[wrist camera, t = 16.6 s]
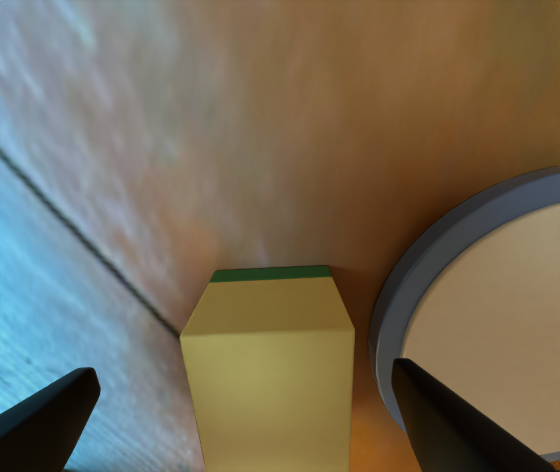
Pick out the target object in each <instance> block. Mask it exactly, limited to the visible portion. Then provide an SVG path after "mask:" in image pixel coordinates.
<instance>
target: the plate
mask: <svg viewBox="0 0 560 472" xmlns="http://www.w3.org/2000/svg"><path fill="white" fill-rule="evenodd" d="M368 358H369V363H370V369H371V373H372V376H373V379H374V381H375V384H376V387H377V389H378V392H379V394H380V397H381V399H382V401H383V404H384V405H385V407H386V409H387V410H388V412H389V414H390V416H391V417H392V418H393V420H394V421H395V422H396V423H397V424H398V426H399V427H400V428H401V429H402V430H403V431H404V432H405V433H406V434H407V432H406V429H405V426H404V422H403V419H402V416H401V413H400V410H399V407H398V404H397V401H396V398H395V395H394V392H393V389H392V385H391V376H392V368H393V361H394V359H396V358H409V359H411V360H412V361H413V362H415V363H416V364H417V365H419V366H420V367H421V368H423V369H424V370H426V371H427V372H428V373H430V374H431V375H432V376H434V377H435V378H436V379H438V380H439V381H440V382H442V383H443V384H444V385H446V386H447V387H448V388H450V389H451V390H452V391H454V392H455V393H456V394H458V395H459V396H460V397H462V398H463V399H464V400H466V401H467V402H468V403H470V404H471V405H472V406H474V407H475V408H476V409H478V410H479V411H480V412H482V413H483V414H484V415H486V416H487V417H488V418H490V419H491V420H493V421H494V422H495V423H497V424H498V425H499V426H501V427H502V428H503V429H505V430H506V431H507V432H509V433H510V434H511V435H513V436H514V437H515V438H517V439H518V440H519V441H521V442H522V443H523V444H525V445H526V446H527V447H529V448H530V449H531V450H533V451H534V452H535V453H537V454H538V455H539V456H541V457H542V458H543V459H545V460H546V461H547V462H553V461H557V460H560V166H555V167H549V168H545V169H541V170H537V171H533V172H529V173H525V174H522V175H519V176H517V177H514V178H511V179H509V180H506V181H503V182H500V183H498V184H496V185H494V186H492V187H490V188H488V189H486V190H484V191H482V192H480V193H478V194H476V195H474V196H472V197H470V198H469V199H467V200H466V201H464V202H462V203H461V204H459V205H458V206H456V207H455V208H453V209H451V210H450V211H449V212H447V213H446V214H445V215H444V216H442V217H441V218H440V219H439V220H437V221H436V222H435V223H434V224H432V225H431V226H430V227H429V228H428V229H427V230H426V231H425V232H424V233H423V234H422V235H421V236H420V237H419V238H418V239H417V240H416V241H415V242H414V243H413V244H412V245H411V246H410V247H409V249H408V250H407V251H406V252H405V254H404V255H403V256H402V257H401V259H400V260H399V261H398V262H397V264H396V265H395V267H394V269H393V270H392V272H391V273H390V275H389V277H388V278H387V280H386V282H385V283H384V286H383V288H382V290H381V292H380V294H379V297H378V299H377V301H376V304H375V308H374V311H373V314H372V318H371V322H370V329H369V336H368Z"/></svg>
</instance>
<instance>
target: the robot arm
mask: <svg viewBox="0 0 560 472" xmlns="http://www.w3.org/2000/svg"><path fill="white" fill-rule="evenodd" d="M391 385H392V389H393V392H394V395H395V398H396V401H397V404H398V407H399V410H400V413H401V416H402V419H403V422H404V426H405V429H406V432H407V435H408V438H409V440H410V443H411V446H412V449H413V451H414V453H415V456H416V458H417V461H418V463H419V465H420V467H421V470H422V472H560V470H555V468H554V466H553V465H551V464H550V463H549V462H547V461H546V460H545V459H543V458H542V457H541V456H539V455H538V454H537V453H535V452H534V451H533V450H531V449H530V448H529V447H527V446H526V445H525V444H523V443H522V442H521V441H519V440H518V439H517V438H515V437H514V436H513V435H511V434H510V433H509V432H507V431H506V430H505V429H503V428H502V427H501V426H499V425H498V424H497V423H495V422H494V421H493V420H491V419H490V418H488V417H487V416H486V415H484V414H483V413H482V412H480V411H479V410H478V409H476V408H475V407H474V406H472V405H471V404H470V403H468V402H467V401H466V400H464V399H463V398H462V397H460V396H459V395H458V394H456V393H455V392H454V391H452V390H451V389H450V388H448V387H447V386H446V385H444V384H443V383H442V382H440V381H439V380H438V379H436V378H435V377H434V376H432V375H431V374H430V373H428V372H427V371H426V370H424V369H423V368H421V367H420V366H419V365H417V364H416V363H415V362H413V361H412V360H411V359H409V358H396V359H394V361H393V368H392V376H391ZM100 391H101V388H100V384H99V381H98V378H97V375H96V371H95V369H93V368H91V367H84V368H77V369H75V370H73V371H72V372H70V373H68V374H67V375H65V376H63V377H62V378H60V379H58V380H57V381H55V382H53V383H52V384H50V385H48V386H47V387H45V388H43V389H42V390H40V391H38V392H37V393H35V394H33V395H32V396H30V397H28V398H27V399H25V400H23V401H22V402H20V403H18V404H17V405H15V406H13V407H12V408H10V409H8V410H7V411H5V412H3V413H2V414H0V472H62V470H63V468H64V466H65V465H66V463H67V461H68V459H69V457H70V456H71V454H72V452H73V450H74V448H75V446H76V444H77V442H78V440H79V438H80V436H81V434H82V431H83V429H84V427H85V425H86V423H87V421H88V419H89V417H90V415H91V413H92V411H93V409H94V407H95V405H96V403H97V400H98V398H99V396H100Z"/></svg>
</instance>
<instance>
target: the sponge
mask: <svg viewBox="0 0 560 472" xmlns="http://www.w3.org/2000/svg"><path fill="white" fill-rule="evenodd" d="M180 343H181V348H182V353H183V358H184V363H185V368H186V373H187V378H188V383H189V388H190V393H191V398H192V403H193V408H194V413H195V418H196V423H197V428H198V433H199V438H200V443H201V448H202V453H203V458H204V463H205V468H206V472H349V461H350V438H351V414H352V390H353V366H354V343H355V329H354V326H353V324H352V322H351V319H350V317H349V315H348V312H347V310H346V308H345V305H344V303H343V301H342V299H341V296H340V294H339V292H338V289H337V287H336V285H335V282H334V280H333V278H332V275H331V273H330V271H329V268H328V266H326V265H325V266H304V267H283V268H263V269H242V270H222V271H215V272H214V274H213V276H212V278H211V279H210V281H209V284H208V285H207V287H206V289H205V291H204V293H203V295H202V296H201V298H200V300H199V302H198V304H197V306H196V308H195V309H194V311H193V313H192V315H191V317H190V319H189V321H188V322H187V324H186V326H185V328H184V330H183V332H182V334H181V335H180Z"/></svg>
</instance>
